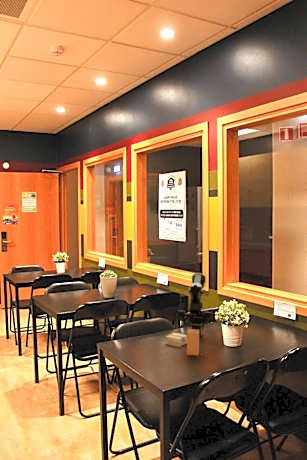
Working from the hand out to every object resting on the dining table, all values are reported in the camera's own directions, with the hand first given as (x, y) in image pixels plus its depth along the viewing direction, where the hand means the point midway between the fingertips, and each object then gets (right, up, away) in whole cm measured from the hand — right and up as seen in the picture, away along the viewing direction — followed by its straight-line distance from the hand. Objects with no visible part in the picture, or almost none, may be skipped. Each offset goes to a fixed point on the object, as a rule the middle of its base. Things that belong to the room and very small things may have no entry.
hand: (193, 329), depth 227 cm
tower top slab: (-8, -9, +12) cm, 17 cm away
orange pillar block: (-1, -12, -4) cm, 12 cm away
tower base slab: (-9, -11, +13) cm, 19 cm away
